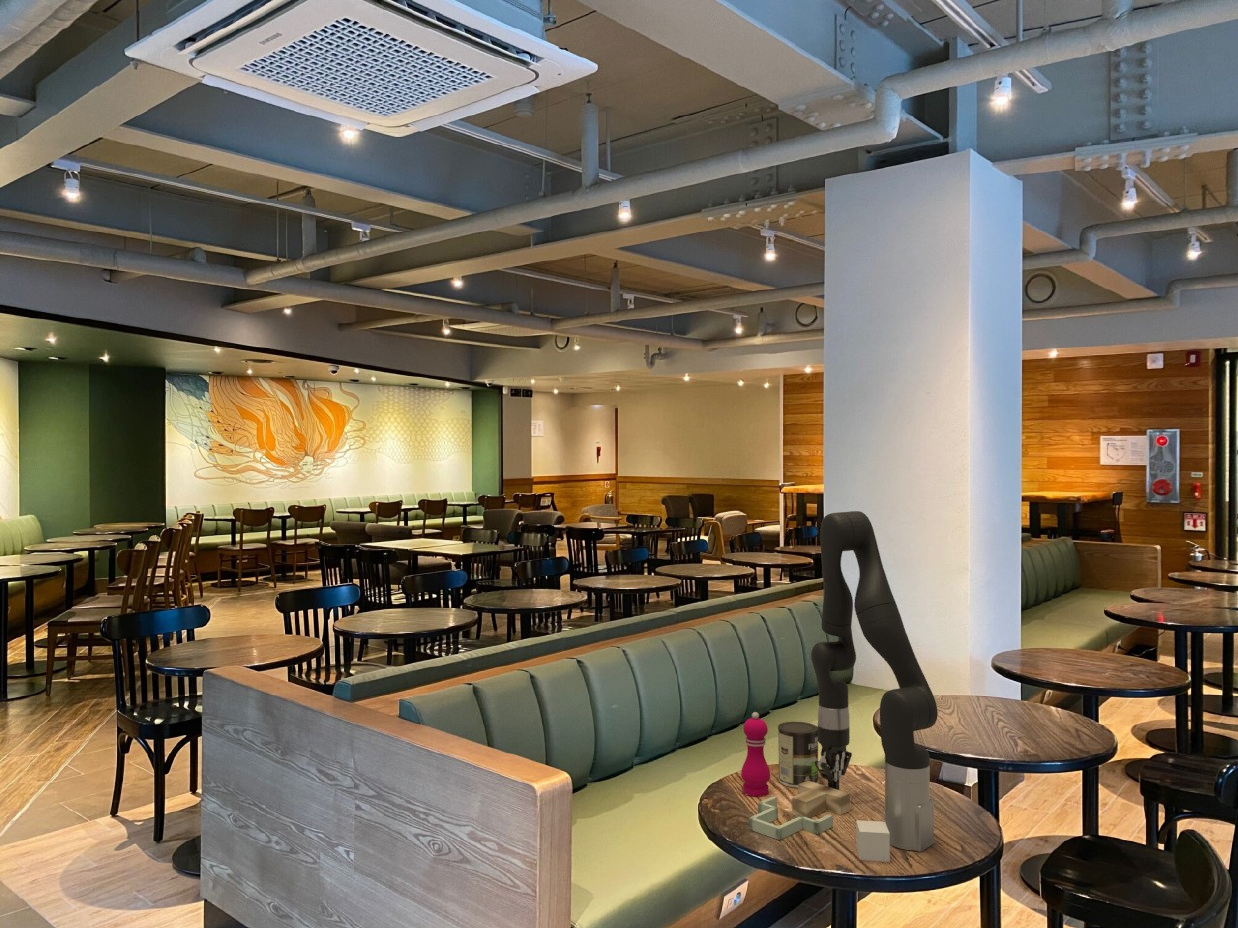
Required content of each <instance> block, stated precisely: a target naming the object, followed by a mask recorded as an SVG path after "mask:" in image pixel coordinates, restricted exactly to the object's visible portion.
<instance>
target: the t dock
mask: <svg viewBox="0 0 1238 928" xmlns="http://www.w3.org/2000/svg"><path fill="white" fill-rule="evenodd" d="M777 819H779V808H778V797H777V796H774V795H772V796H771V797H769V798H767V799H763V800H761V801H759V802H758V803H757V814H754V815H752V816H750V817H748V830H750V831H753V832H756V833H758V834H761V835H764V836H766V837H769V838H772V839H774V840H778V841H782V840H783V839H785V838H787V837H790V836H791V835H794V834H796V833H797V832H800V831H802V830H804V831H807V832H809V833H812V834H815V835H820V834H821V833H823V832H826V831H827V830H829V829H831V828H833V827H834V815H832V814H830V813H829V814H826V815H825V816H823V817H821V818H819V819H816V820H815V819H812V818H811V817H810V818H807V817H804V816H799V817H798V816H796V817H795V818H793V819H791V820H789V821H787V822H785V823H782V824H781V825H776V824H773V823H771V822H773V821H776V820H777Z"/></svg>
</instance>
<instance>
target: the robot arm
mask: <svg viewBox="0 0 1238 928" xmlns="http://www.w3.org/2000/svg"><path fill="white" fill-rule="evenodd" d="M819 531H820V532H819V533H820V534H819V540H820V556H821V570H822V580H823V583H822V584H823V603H822V612H821V625H820V626H821V629H822V631H823V632H824V633H825V634H827V635H830V636H832V637H838V640H837V641H820V642H817V643H815V644H814V645H813V647H812V648H811V652H810V658H811V662H812V666H813V669H814V672H815V676H816V681H817V687H818V709H817V727H818V744H820V745H821V749H820V750H821V751H820V759H818V761H815V766H816V768H817V769H818V774H819V775H820V776H821V778H822V779H824V780H827V787H831V788H834V789H837V790H840V781H841V779H842V776H845V775H846V772H847V769H848V767H849V764H850V761H851V759H852V757H853V753H852V752H851V751H848V750H847V746H849V744H850V738H851V737H850V733H851V732H850V730H851V729H850V710H849V686H848V683H846V681H844V680H840V679H836V678H832V676H831V672H840V671H841V672H842V671H843V672H844V671H850V670H851V669H853V668H854V666H855V665H856V662H857V654H856V648H855V644H854V639H853V631H852V622H853V614H854V613H853V610H854V612H855V615H856V618H857V621H858V625H859V627H860V630H861V633H862V635H863V637H864V638H865V640H866V641H867V642H868V644H869V645H870V646H871V647H872V648H873V649H874V651H876V653H877V654H879V656H881V658H882V659H883V660H884V661H885V662H886V663H887V665H888V666H889V667H890V669H891V671H892V672H893V675H894V678H895V679H896V681H897V684H898V687H899V688H894V689H890V690H889V689H888V690H887V691H886V692H885V693H884V694H883V695H882V697H881V699H880V704H879V721H880V723H879V724H880V725H879V726H880V741H881V748H882V750H883V753H884V818H885V819H884V822H885V823H886V826H887V828H888V831H889V833H890V846H892V847H895V848H898V849H900V850H901V849H902V850H907V851H917V852H919V853H921V852H923V851H924V850H926V849H927V848H929V847H932V846H933V845H934V844H935V828H934V827H935V815H934V814H935V813H934V812H935V807H934V805H935V804H934V799H932V798H931V796H930V795H931V793H930V792H931V791H930V790H931V788H930V782H931V780H930V779H931V778H930V777H931V775H930V773H931V772H930V770H931V769H930V763H931V761H930V752H929V750H928V749H927V748H926V747H924V746H921V745H918V744H915V743H916V742H915V735H914V732H917V731H922V730H926V729H930V728H932V727H933V726H934V725H935V724H936V722H937V720H938V716H939V715H938V705H937V701H936V699H935V695H934V693H933V691H932V689H931V687H930V685H929V683H928V681H927V679H926V676H925V674H924V672H923V670H922V668H921V666H920V664H919V661H918V659H917V657H916V654H915V652H914V649H913V647H912V644H911V642H910V639H909V636H908V634H907V632H906V629H905V625H904V623H903V618H902V617H901V613H900V611H899V608H898V605H897V602H896V600H895V597H894V595H893V592H892V590H891V587H890V584H889V581H888V577H887V575H886V571H885V568H884V565H883V563H882V558H881V554H880V549H879V547H878V542H877V538H876V534H875V530H874V527H873V525H872V522H871V520H870V518H869V517H868V516H867V515H866V514H865V513H864V512H863V511H858V510H853V511H843V512H842V511H841V512H839V511H838V512H831V513H828V514H827V515H825V516H824V517H823V519H822V520H821V524H820V530H819ZM849 551H853V553H854V555H855V558H856V562H857V566H858V571H859V572H858V573H859V577H858V583H857V586H856V590H855V591H856V592H855V597H854V600H853V596H852V595H853V594H852V591H851V589H850V588H849V587H850V586H849V585H848V583H847V581H846V578H845V577H844V574H843V571H842V555H843V553H844V552H849Z"/></svg>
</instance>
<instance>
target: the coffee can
mask: <svg viewBox="0 0 1238 928" xmlns="http://www.w3.org/2000/svg"><path fill="white" fill-rule="evenodd" d="M777 730H778V782H779V783H780V784H781V785H783V786H785V787H790V788H794V789H798V784H800V783H803V782H805V781H811V782H814V783H818V784H820V783H819V771H818V769H817V768H816V766H815V761H819V742H818V725H815V724H813V723H810V722H805V721H786V722H782V723H779V724H778V726H777Z"/></svg>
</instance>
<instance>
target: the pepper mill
mask: <svg viewBox="0 0 1238 928" xmlns="http://www.w3.org/2000/svg"><path fill="white" fill-rule="evenodd" d="M759 714H760V713H758V712H756V711H754V712H753V713H751V717H750V718H748V719H747V720H746V721H744V723H743V734H744V735H745V742H744V743H745V745H746V746H747V754H746V758H745V760H744V762H743V764H742V766H741V767H742V768H741V773H740V776H741V779H742V780H743V782H744V783H743V784H742V792H743V794H745V795H747V796H750V797H765V796H767V795H768V794H769V785H768V782H769V781H770V779H771V770H770V768H769V764H768V763H767V761H766V758H765V753H764V747H765V745H766V738H765V736H767V734H768V731H769V730H768V724H767V722H765V720H763V719H762V718H759V717H760V715H759Z"/></svg>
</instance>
